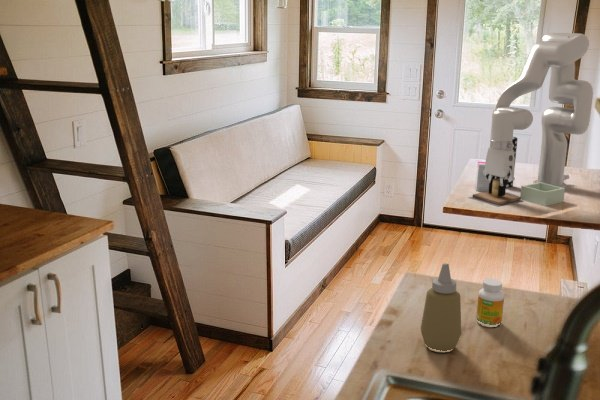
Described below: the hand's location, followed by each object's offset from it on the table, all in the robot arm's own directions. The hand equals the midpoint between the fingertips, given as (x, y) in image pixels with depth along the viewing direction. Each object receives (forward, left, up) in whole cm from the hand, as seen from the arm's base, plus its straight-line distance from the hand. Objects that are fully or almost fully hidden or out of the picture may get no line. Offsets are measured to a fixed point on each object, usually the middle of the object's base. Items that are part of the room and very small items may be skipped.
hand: (496, 194), depth 235 cm
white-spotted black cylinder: (-19, -13, -3) cm, 23 cm away
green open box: (-13, +10, -3) cm, 16 cm away
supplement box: (-7, -12, -3) cm, 14 cm away
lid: (0, 0, -2) cm, 2 cm away
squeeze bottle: (+96, +67, -3) cm, 117 cm away
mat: (0, 0, -3) cm, 3 cm away
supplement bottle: (+79, +65, -3) cm, 103 cm away
